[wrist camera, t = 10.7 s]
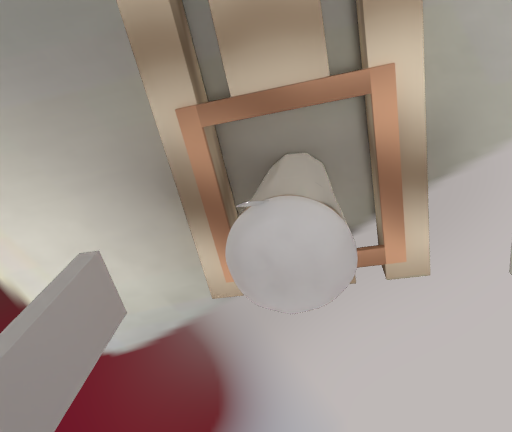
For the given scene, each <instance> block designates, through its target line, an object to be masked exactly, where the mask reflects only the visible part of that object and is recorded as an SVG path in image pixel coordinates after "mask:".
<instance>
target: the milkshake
mask: <svg viewBox="0 0 512 432" xmlns="http://www.w3.org/2000/svg"><path fill="white" fill-rule="evenodd" d="M236 207H245V209H244V210H243V212H242V213H241V214H240V216H239V217H238V218H237V220H236V221H235V222H234V224H233V226H232V228H231V230H230V232H229V235H228V238H227V242H226V250H225V256H226V263H227V266H228V269H229V271H230V273H231V276H232V278H233V280H234V282H235V284H236V285H237V287H238V288H239V290H240V291H241V292H242V293H243V294H244V295H245V296H246V297H247V298H248V299H249V300H250V301H251V302H253V303H254V304H256V305H258V306H260V307H263V308H266V309H270V310H274V311H278V312H281V313H287V314H296V313H301V312H306V311H310V310H313V309H317V308H320V307H322V306H325V305H327V304H328V303H330V302H331V301H333V300H334V299H335V298H337V297H338V296H339V295H340V294H341V293H342V292H343V291H344V289H346V288H347V286H348V285H349V284H350V282H351V281H352V279H353V277H354V275H355V272H356V268H357V261H358V256H357V248H356V244H355V241H354V238H353V235H352V233H351V231H350V229H349V226H348V224H347V222H346V219H345V217H344V215H343V213H342V210H341V208H340V206H339V204H338V202H337V200H336V198H335V195H334V192H333V189H332V186H331V183H330V180H329V178H328V175H327V173H326V170H325V168H324V165H323V163H322V162H321V161H319V160H317V159H316V158H314V157H312V156H311V155H309V154H307V153H294V154H286V155H285V156H283V157H282V158H281V159H280V160H279V161H277V162H276V163H275V164H274V165H272V166H271V168H270V169H269V171H268V173H267V174H266V176H265V178H264V179H263V181H262V182H261V184H260V186H259V187H258V189H257V191H256V192H255V194H254V196H253V197H252V199H251V200H250V201H247V202H244V203H241V204H239V205H236Z"/></svg>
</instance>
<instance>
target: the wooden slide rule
mask: <svg viewBox="0 0 512 432" xmlns="http://www.w3.org/2000/svg"><path fill="white" fill-rule="evenodd" d="M116 1H117V4H118V7H119V10H120V13H121V16H122V20H123V23H124V26H125V29H126V32H127V35H128V38H129V41H130V44H131V48H132V51H133V54H134V57H135V60H136V63H137V66H138V69H139V72H140V75H141V79H142V82H143V85H144V88H145V91H146V94H147V97H148V100H149V103H150V106H151V110H152V113H153V116H154V119H155V122H156V125H157V128H158V131H159V134H160V138H161V141H162V144H163V147H164V150H165V153H166V156H167V159H168V162H169V165H170V169H171V172H172V175H173V178H174V181H175V184H176V187H177V190H178V193H179V196H180V200H181V203H182V206H183V209H184V212H185V215H186V218H187V221H188V224H189V228H190V231H191V234H192V237H193V240H194V243H195V246H196V249H197V252H198V255H199V259H200V262H201V265H202V268H203V271H204V274H205V277H206V280H207V283H208V286H209V290H210V293H211V296H212V299H215V298H224V297H233V296H243V295H244V294H243V293H242V292H241V291H240V290H239V288H238V287H237V285H236V284H235V282H234V280H233V278H232V276H231V273H230V271H229V269H228V266H227V263H226V256H225V250H226V242H227V238H228V235H229V232H230V230H231V228H232V226H233V224H234V222H235V221H236V220H237V218H238V215H237V211H236V207H235V203H234V199H233V195H232V192H231V188H230V184H229V180H228V176H227V172H226V168H225V165H224V161H223V157H222V153H221V149H220V145H219V141H218V138H217V134H216V130H215V126H214V125H216V124H221V123H226V122H231V121H236V120H241V119H246V118H251V117H256V116H261V115H266V114H271V113H276V112H281V111H286V110H291V109H296V108H301V107H306V106H311V105H316V104H321V103H326V102H331V101H336V100H341V99H346V98H351V97H356V96H361V95H365V105H366V115H367V126H368V137H369V148H370V159H371V169H372V180H373V191H374V202H375V213H376V223H377V234H378V245H377V246H368V247H361V248H357V256H358V261H357V268H358V267H366V266H375V265H382V268H383V271H384V273H385V276H386V279H387V280H390V279H399V278H410V277H419V276H428V275H430V248H429V212H428V177H427V142H426V107H425V72H424V37H423V2H422V0H356V7H357V18H358V29H359V40H360V50H361V61H362V69H361V70H357V71H352V72H347V73H343V74H338V75H333V76H330V73H329V65H328V57H327V50H326V42H325V34H324V26H323V18H322V10H321V2H320V0H208V2H209V6H210V10H211V15H212V19H213V23H214V27H215V32H216V36H217V40H218V44H219V49H220V53H221V57H222V62H223V66H224V70H225V74H226V79H227V83H228V87H229V91H230V96H231V97H229V98H225V99H220V100H215V101H211V102H208V99H207V95H206V91H205V88H204V84H203V80H202V76H201V72H200V68H199V64H198V61H197V57H196V53H195V49H194V45H193V41H192V37H191V34H190V30H189V26H188V22H187V18H186V14H185V10H184V7H183V3H182V0H116ZM353 283H356V279H355V275H354V277H353V279H352V281H351V282H350V284H353Z"/></svg>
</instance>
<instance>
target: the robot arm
mask: <svg viewBox="0 0 512 432" xmlns="http://www.w3.org/2000/svg"><path fill="white" fill-rule="evenodd" d="M509 272H510V274H511V275H512V246H511V258H510V270H509ZM126 313H127V311H126V309H125V307H124V305H123V303H122V300H121V298H120V296H119V294H118V292H117V289H116V287H115V285H114V283H113V281H112V278H111V276H110V274H109V272H108V270H107V267H106V265H105V263H104V261H103V259H102V256H101V254H100V252H99V251H93V252H86V253H79V254H78V255H77V256H76V257H75V258H74V259H73V260H72V261H71V262H70V263H69V264H68V266H67V267H66V268H65V269H64V270H63V271H62V272H61V273H60V274H59V275H58V276H57V277H56V278H55V279H54V280H53V281H52V282H51V283H50V284H49V285H48V286H47V287H46V288H45V289H44V290H43V291H42V292H41V293H40V294H39V295H38V296H37V297H36V298H35V299H34V300H33V301H32V302H31V303H30V304H29V305H28V306H27V307H26V308H25V309H24V310H23V311H22V312H21V313H20V314H19V315H18V316H17V317H16V318H15V319H14V320H13V322H11V323H10V324H9V326H7V328H6V329H5V330H4V331H3V332H2V333H1V334H0V432H54V431H55V429H56V428H57V426H58V424H59V423H60V421H61V419H62V418H63V416H64V415H65V413H66V411H67V410H68V408H69V406H70V405H71V403H72V402H73V400H74V398H75V397H76V395H77V393H78V392H79V390H80V388H81V387H82V385H83V384H84V382H85V380H86V378H87V377H88V375H89V374H90V372H91V370H92V369H93V367H94V365H95V364H96V362H97V361H98V359H99V358H100V356H101V354H102V353H103V351H104V349H105V348H106V346H107V344H108V343H109V341H110V340H111V338H112V336H113V335H114V333H115V331H116V330H117V328H118V326H119V325H120V323H121V322H122V320H123V318H124V317H125V315H126Z"/></svg>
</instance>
